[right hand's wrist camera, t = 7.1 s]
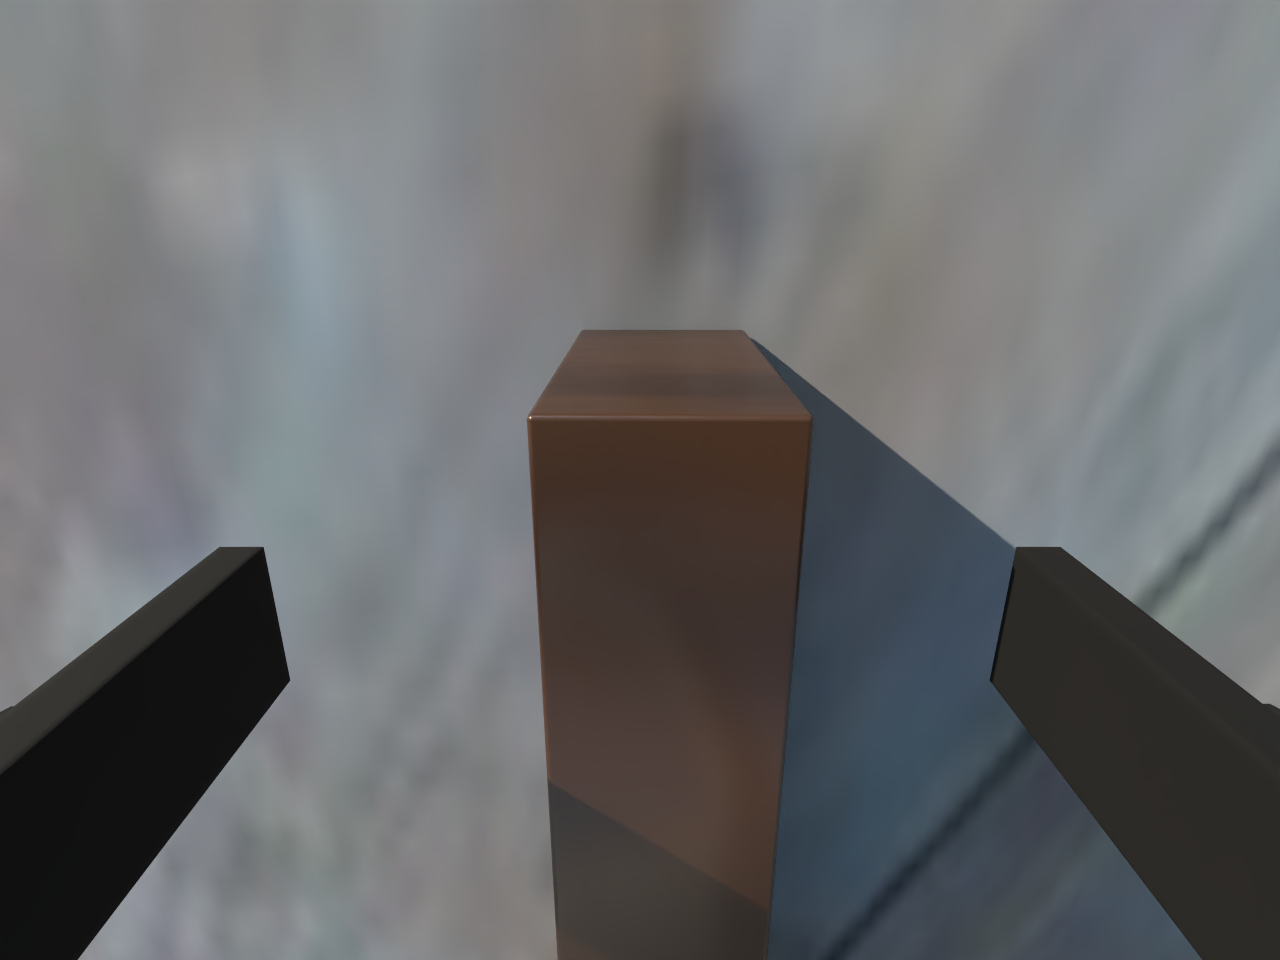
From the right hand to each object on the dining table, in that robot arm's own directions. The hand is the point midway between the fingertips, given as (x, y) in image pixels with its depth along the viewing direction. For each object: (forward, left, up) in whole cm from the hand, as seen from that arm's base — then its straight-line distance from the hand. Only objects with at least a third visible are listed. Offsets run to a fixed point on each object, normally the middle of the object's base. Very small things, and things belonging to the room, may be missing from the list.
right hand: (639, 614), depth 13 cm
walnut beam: (0, +19, -7) cm, 20 cm away
